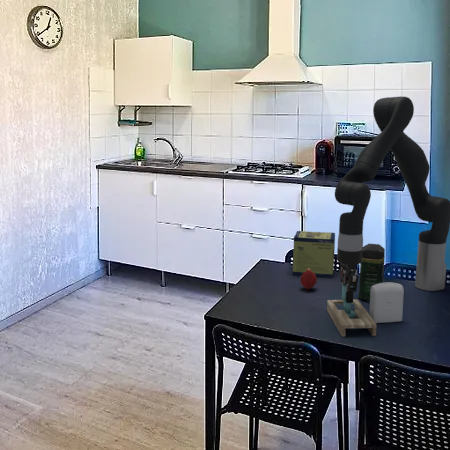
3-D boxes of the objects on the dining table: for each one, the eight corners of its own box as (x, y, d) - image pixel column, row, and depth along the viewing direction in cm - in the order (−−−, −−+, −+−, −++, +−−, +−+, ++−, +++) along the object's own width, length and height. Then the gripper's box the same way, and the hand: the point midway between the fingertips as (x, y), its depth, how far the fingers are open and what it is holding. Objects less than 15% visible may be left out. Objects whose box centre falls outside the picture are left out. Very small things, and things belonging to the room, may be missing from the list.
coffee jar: (381, 303, 184) (384, 250, 180) (357, 300, 187) (359, 248, 183) (383, 293, 193) (386, 242, 189) (360, 291, 196) (362, 241, 192)
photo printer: (371, 324, 168) (373, 286, 165) (366, 318, 172) (368, 281, 169) (404, 322, 169) (406, 284, 166) (398, 317, 173) (400, 279, 170)
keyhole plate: (357, 309, 179) (357, 299, 178) (375, 335, 160) (376, 324, 159) (327, 310, 179) (327, 300, 178) (341, 336, 159) (342, 325, 159)
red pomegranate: (317, 292, 195) (318, 270, 194) (301, 292, 196) (301, 270, 194) (315, 286, 201) (315, 265, 199) (299, 286, 201) (299, 265, 199)
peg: (352, 313, 175) (354, 283, 173) (357, 320, 170) (358, 289, 168) (336, 313, 175) (337, 284, 173) (340, 320, 170) (341, 289, 168)
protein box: (332, 278, 210) (334, 238, 207) (292, 275, 214) (293, 236, 210) (334, 270, 220) (335, 232, 217) (295, 267, 224) (296, 230, 220)
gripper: (368, 253, 161) (365, 308, 165) (356, 240, 174) (353, 292, 178) (343, 253, 160) (340, 308, 164) (332, 241, 174) (330, 292, 178)
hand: (347, 299), depth 171 cm, fingers closed on peg, 3 cm apart
